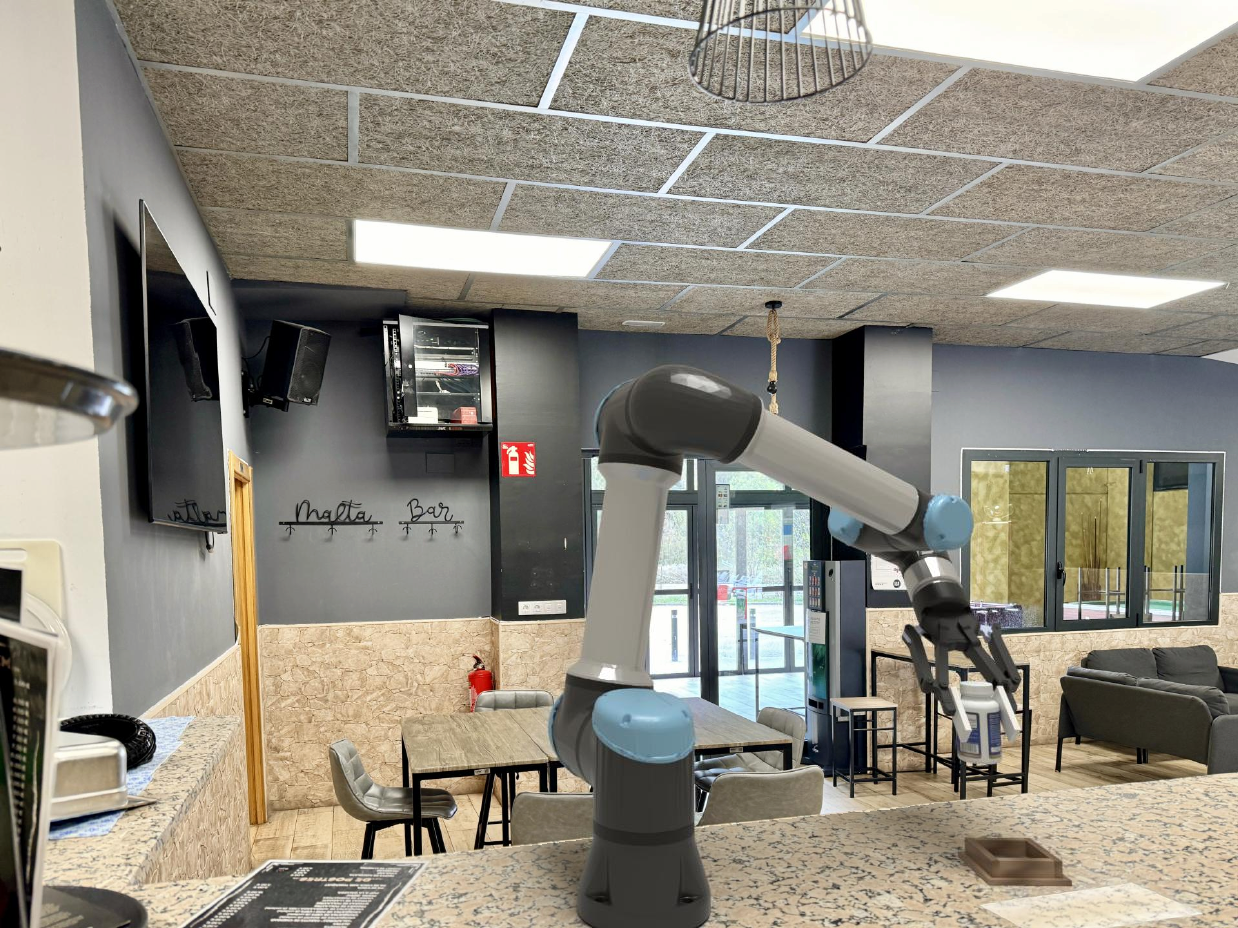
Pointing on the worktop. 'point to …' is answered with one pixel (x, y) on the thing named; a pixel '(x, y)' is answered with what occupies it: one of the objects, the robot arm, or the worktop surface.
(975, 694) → the pill bottle
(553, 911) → the worktop surface
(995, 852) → the socket block
